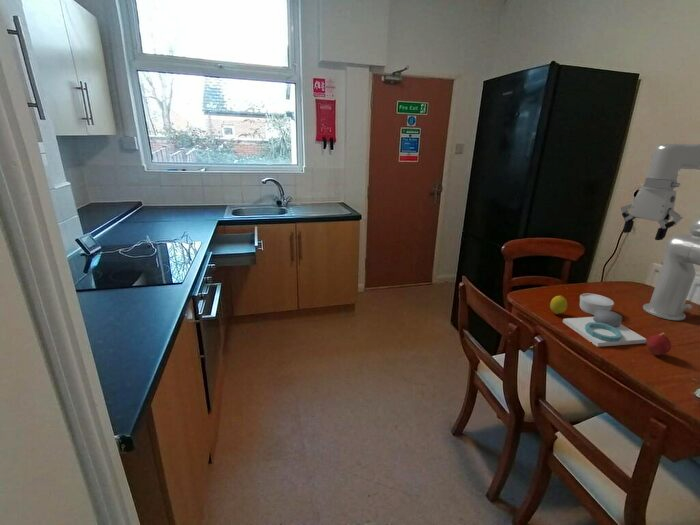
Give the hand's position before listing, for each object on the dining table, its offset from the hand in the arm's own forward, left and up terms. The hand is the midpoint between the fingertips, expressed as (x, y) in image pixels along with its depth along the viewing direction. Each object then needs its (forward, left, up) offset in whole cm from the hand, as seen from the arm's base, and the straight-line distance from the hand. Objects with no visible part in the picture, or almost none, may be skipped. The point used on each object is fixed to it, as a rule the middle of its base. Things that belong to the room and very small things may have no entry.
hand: (642, 235), depth 116 cm
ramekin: (0, -10, -34) cm, 35 cm away
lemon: (+17, -9, -34) cm, 39 cm away
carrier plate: (+10, +5, -34) cm, 35 cm away
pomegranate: (+4, +19, -34) cm, 39 cm away
